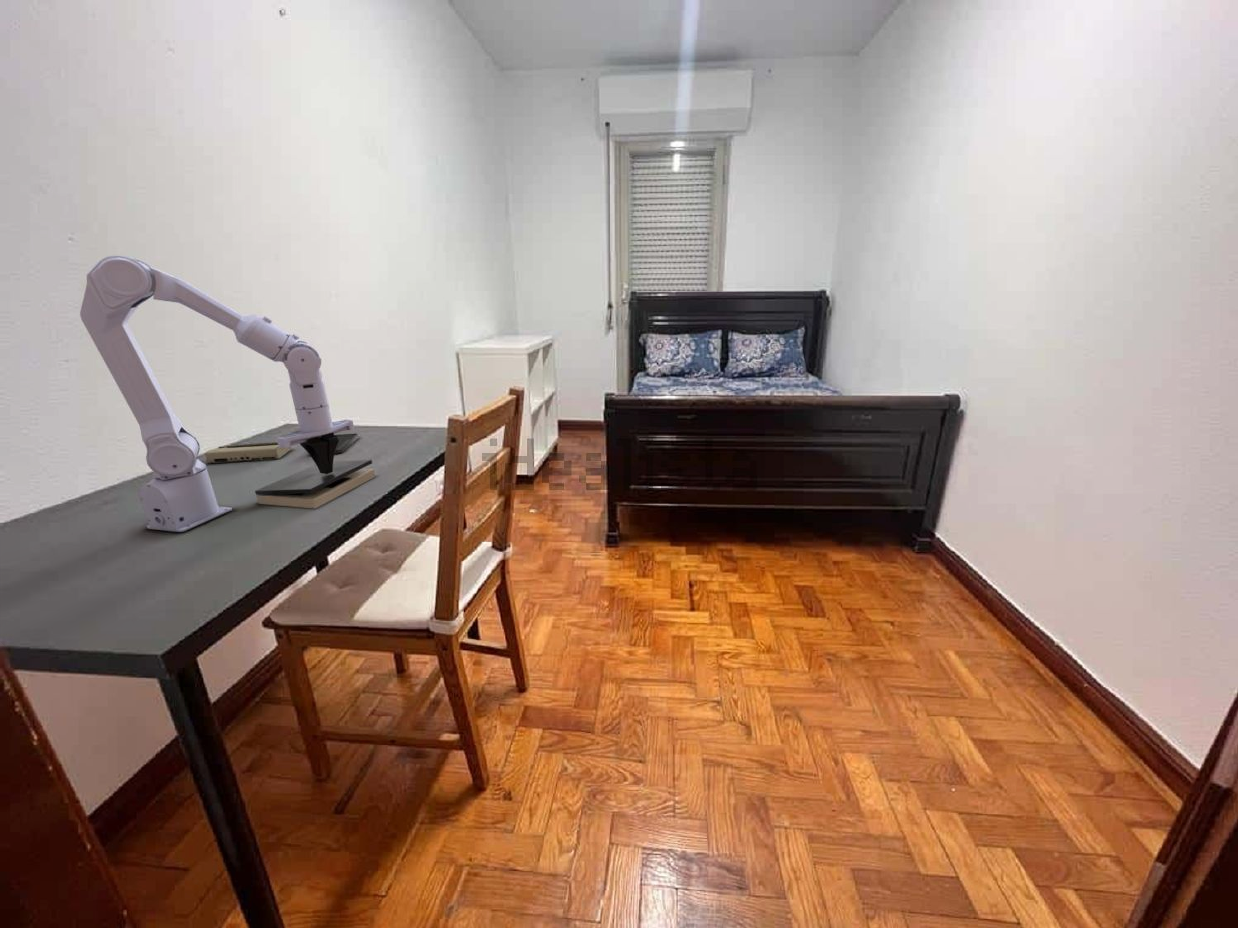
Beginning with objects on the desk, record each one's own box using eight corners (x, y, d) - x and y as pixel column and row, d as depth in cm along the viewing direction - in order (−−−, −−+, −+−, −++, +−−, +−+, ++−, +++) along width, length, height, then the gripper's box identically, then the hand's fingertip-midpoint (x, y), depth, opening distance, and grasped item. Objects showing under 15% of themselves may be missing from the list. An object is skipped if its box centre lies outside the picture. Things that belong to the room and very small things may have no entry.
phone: (306, 451, 127) (328, 435, 141) (307, 456, 127) (329, 439, 141) (340, 449, 128) (359, 433, 142) (341, 453, 128) (360, 437, 142)
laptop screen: (372, 463, 111) (371, 459, 111) (311, 493, 95) (310, 489, 95) (322, 465, 114) (321, 462, 114) (256, 495, 99) (254, 490, 98)
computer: (292, 449, 133) (289, 437, 132) (278, 459, 125) (275, 446, 124) (226, 454, 131) (222, 441, 129) (207, 464, 123) (203, 451, 122)
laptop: (375, 476, 112) (373, 468, 111) (315, 508, 96) (313, 499, 96) (324, 473, 115) (322, 465, 114) (258, 503, 99) (256, 494, 99)
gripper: (332, 397, 107) (345, 459, 112) (260, 412, 95) (278, 481, 99) (355, 399, 104) (367, 463, 109) (284, 416, 92) (301, 486, 96)
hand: (326, 472), depth 104 cm, fingers closed
